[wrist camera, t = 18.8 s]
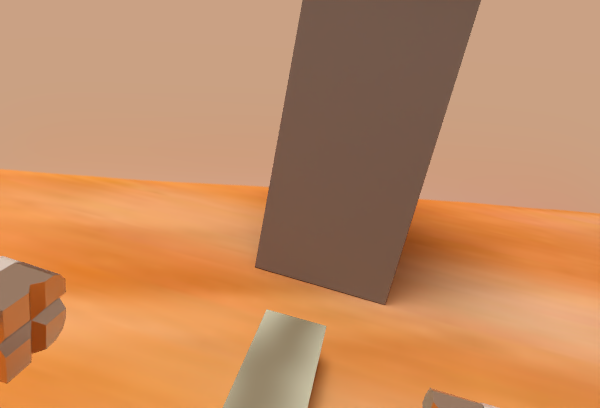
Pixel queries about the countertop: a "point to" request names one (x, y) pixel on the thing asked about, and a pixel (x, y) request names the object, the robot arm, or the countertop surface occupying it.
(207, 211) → the countertop surface
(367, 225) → the tall stand
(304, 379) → the beige block
